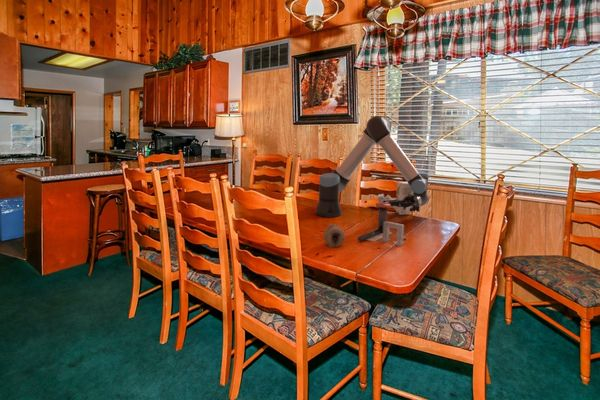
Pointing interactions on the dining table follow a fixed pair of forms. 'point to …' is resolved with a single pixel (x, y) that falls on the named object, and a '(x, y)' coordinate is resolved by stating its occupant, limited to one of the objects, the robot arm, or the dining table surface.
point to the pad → (376, 237)
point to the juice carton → (403, 196)
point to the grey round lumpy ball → (334, 236)
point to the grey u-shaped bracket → (399, 232)
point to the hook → (381, 219)
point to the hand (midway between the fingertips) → (393, 208)
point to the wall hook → (381, 199)
